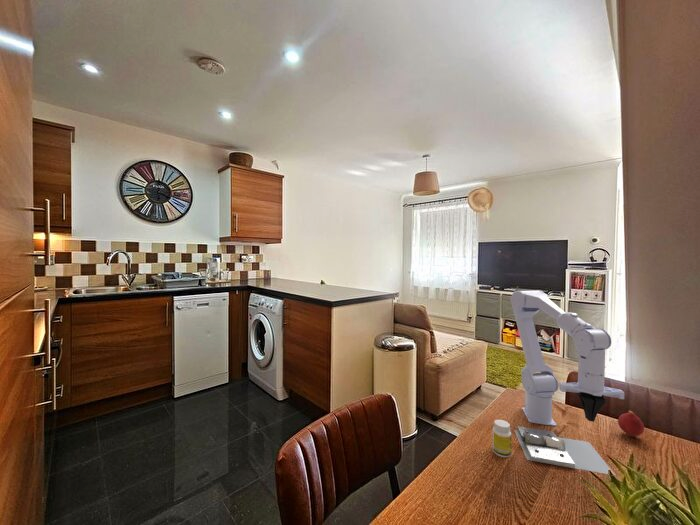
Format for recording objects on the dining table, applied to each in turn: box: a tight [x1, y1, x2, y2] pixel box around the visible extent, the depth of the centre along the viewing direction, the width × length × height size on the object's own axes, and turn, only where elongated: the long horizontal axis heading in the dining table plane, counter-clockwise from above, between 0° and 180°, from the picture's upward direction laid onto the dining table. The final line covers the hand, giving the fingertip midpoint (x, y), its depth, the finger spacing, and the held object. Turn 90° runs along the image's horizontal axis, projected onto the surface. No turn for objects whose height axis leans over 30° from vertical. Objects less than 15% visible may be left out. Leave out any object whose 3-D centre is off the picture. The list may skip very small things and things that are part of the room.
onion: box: [617, 410, 645, 438], centre depth 91 cm, size 6×6×8 cm
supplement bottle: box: [491, 419, 512, 458], centre depth 83 cm, size 5×5×8 cm
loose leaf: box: [526, 436, 576, 469], centre depth 82 cm, size 9×10×3 cm
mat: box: [513, 429, 617, 477], centre depth 84 cm, size 14×20×1 cm
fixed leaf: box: [516, 426, 558, 447], centre depth 88 cm, size 9×11×3 cm
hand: (589, 419), depth 82 cm, fingers closed
